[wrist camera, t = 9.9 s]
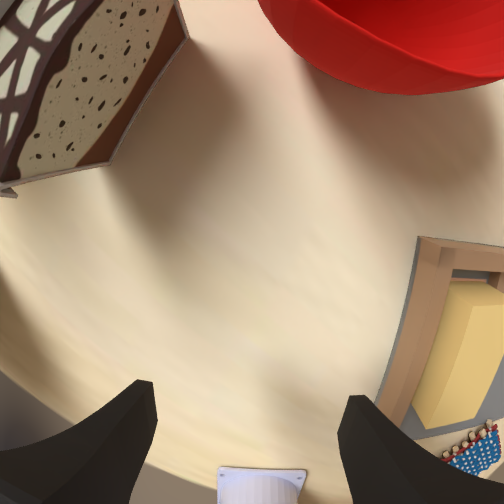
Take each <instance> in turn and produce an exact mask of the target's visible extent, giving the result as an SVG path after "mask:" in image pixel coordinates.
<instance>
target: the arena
mask: <svg viewBox="0 0 504 504" xmlns="http://www.w3.org/2000/svg"><path fill="white" fill-rule="evenodd" d="M450 280H453V281H483V282H485V283H487V284H488V285H490V286H492V287H494V288H495V289H497V290H499V291H500V292H502V293H504V247H499V246H492V245H485V244H477V243H470V242H462V241H454V240H446V239H438V238H430V237H421V236H418V238H417V244H416V250H415V256H414V261H413V266H412V272H411V276H410V281H409V286H408V291H407V295H406V299H405V304H404V308H403V312H402V316H401V320H400V324H399V327H398V331H397V335H396V338H395V342H394V345H393V349H392V352H391V355H390V359H389V362H388V365H387V368H386V371H385V374H384V377H383V380H382V383H381V386H380V389H379V392H378V395H377V398H376V400H375V403H374V405H375V406H376V407H377V408H378V409H379V410H380V411H381V412H382V413H383V414H384V415H385V416H386V417H387V418H388V419H389V420H390V421H392V422H393V423H394V424H395V425H396V426H397V427H398V428H399V429H400V430H401V431H402V432H404V433H405V434H406V435H407V436H408V437H409V438H411V439H412V440H417V439H423V438H428V437H433V436H438V435H443V434H447V433H451V432H455V431H460V430H463V429H467V428H471V427H475V426H478V425H482V424H485V423H486V422H487V420H488V419H490V420H492V421H495V420H498V419H501V418H503V417H504V355H503V357H502V360H501V362H500V365H499V367H498V369H497V372H496V374H495V376H494V379H493V381H492V383H491V385H490V387H489V390H488V392H487V394H486V396H485V398H484V400H483V402H482V404H481V406H480V408H479V410H478V412H477V414H476V416H475V417H474V418H473V419H469V420H465V421H461V422H457V423H453V424H449V425H445V426H440V427H436V428H431V429H425V427H424V425H423V423H422V422H421V420H420V418H419V416H418V415H417V413H416V411H415V409H414V408H413V406H412V404H411V400H412V398H413V396H414V393H415V391H416V388H417V386H418V383H419V381H420V378H421V376H422V373H423V370H424V368H425V365H426V362H427V359H428V356H429V353H430V351H431V348H432V345H433V341H434V338H435V335H436V332H437V329H438V325H439V322H440V319H441V315H442V312H443V308H444V304H445V300H446V297H447V293H448V288H449V284H450Z"/></svg>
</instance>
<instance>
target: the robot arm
mask: <svg viewBox="0 0 504 504" xmlns="http://www.w3.org/2000/svg"><path fill="white" fill-rule="evenodd" d="M157 422H158V419H157V412H156V405H155V397H154V389H153V382H149V381H144V380H138V379H137V380H136V381H134V382H133V383H132V384H131V385H129V386H128V387H127V388H126V389H125V390H123V391H122V392H121V393H120V394H118V395H117V396H116V397H115V398H113V399H112V400H111V401H110V402H108V403H107V404H106V405H104V406H103V407H102V408H100V409H99V410H98V411H96V412H95V413H93V414H92V415H90V416H89V417H87V418H86V419H84V420H83V421H81V422H80V423H78V424H76V425H75V426H73V427H71V428H69V429H67V430H65V431H63V432H61V433H59V434H57V435H55V436H52V437H49V438H47V439H45V440H42V441H39V442H37V443H33V444H30V445H27V446H23V447H19V448H16V449H11V450H5V451H0V504H129V500H130V496H131V493H132V490H133V487H134V485H135V482H136V480H137V477H138V475H139V473H140V470H141V468H142V465H143V463H144V461H145V458H146V456H147V453H148V451H149V449H150V446H151V444H152V441H153V437H154V433H155V430H156V426H157ZM337 434H338V442H339V449H340V456H341V459H342V463H343V467H344V470H345V474H346V477H347V481H348V485H349V488H350V492H351V495H352V499H353V504H504V484H503V483H498V482H495V481H491V480H487V479H483V478H480V477H477V476H475V475H472V474H469V473H467V472H464V471H462V470H460V469H458V468H456V467H454V466H452V465H450V464H448V463H446V462H444V461H442V460H441V459H439V458H437V457H436V456H434V455H433V454H431V453H430V452H428V451H426V450H425V449H424V448H422V447H421V446H419V445H418V444H417V443H416V442H414V441H413V440H412V439H411V438H409V437H408V436H407V435H406V434H405V433H404V432H402V431H401V430H400V429H399V428H398V427H397V426H396V425H395V424H394V423H393V422H392V421H390V420H389V419H388V418H387V417H386V416H385V415H384V414H383V413H382V412H381V411H380V410H379V409H378V408H377V407H376V406H375V405H374V404H373V403H372V402H371V401H370V400H369V399H368V398H367V397H366V396H365V395H351V396H349V399H348V402H347V405H346V408H345V412H344V415H343V418H342V421H341V424H340V426H339V429H338V432H337ZM305 478H306V471H305V470H265V469H245V468H232V467H219V468H218V472H217V483H218V504H298V503H297V499H298V497H299V494H300V491H301V489H302V486H303V483H304V481H305Z"/></svg>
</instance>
